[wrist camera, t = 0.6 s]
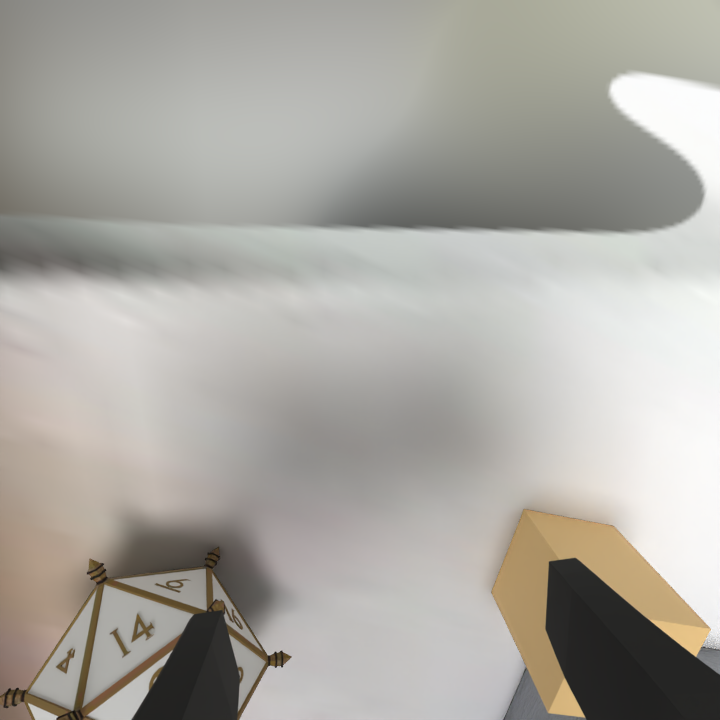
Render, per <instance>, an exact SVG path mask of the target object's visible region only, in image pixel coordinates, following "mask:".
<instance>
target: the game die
mask: <svg viewBox="0 0 720 720" xmlns="http://www.w3.org/2000/svg"><path fill="white" fill-rule="evenodd" d="M219 559H220V556H219V547H218V548H216V549H215V550H213V551H212V552H210V553H208V557H207V558H205V560H206V564H205V566H204V567H196V568H187V569H179V570H171V571H162V572H154V573H146V574H138V575H129V576H121V577H113V578H107V577H106V573H105V571H107V570H106V569H104V567H103V565H104V563H99V562H96V561H94V560H92V559H90V560H89V570H88V572H87V575H88V574H89V575H90V576H91V578H90V579H91V580H94V581H95V582H96V583H97V585H96V587H95V588H94V590H93V591H92V593H91V594H90V596H89V597H88V599H87V600H86V602H85V603H84V605H83V606H82V608H81V609H80V611H79V612H78V614H77V615H76V617H75V618H74V620H73V621H72V623H71V624H70V626H69V627H68V629H67V630H66V632H65V633H64V635H63V636H62V638H61V639H60V641H59V642H58V644H57V645H56V647H55V648H54V650H53V651H52V653H51V654H50V656H49V657H48V659H47V660H46V662H45V663H44V665H43V666H42V668H41V669H40V671H39V672H38V674H37V675H36V677H35V678H34V680H33V681H32V683H31V685H30V686H29V688H28V689H27V690H24V691H23V690H19V688H16V690H11V688H10V689H8V691H7V692H6V693H4V694H3V695H1V696H0V704H1V705H3V706H4V708H8V707H9V706H17V704H19V703H21V702H25V705H26V707H27V709H28V711H29V714H30V716H31V718H32V720H132V718H133V716H134V715H135V713H136V711H137V710H138V708H139V707H140V705H141V703H142V702H143V700H144V698H145V697H146V695H147V693H148V692H149V690H150V688H151V687H152V685H153V684H154V682H155V680H156V679H157V677H158V675H159V673H160V672H161V670H162V668H163V666H164V665H165V663H166V661H167V659H168V658H169V656H170V654H171V652H172V651H173V649H174V647H175V645H176V643H177V642H178V640H179V638H180V636H181V634H182V632H183V631H184V629H185V627H186V625H187V623H188V621H189V619H190V618H191V617H192V616H193V615H194V614H199V613H205V612H212V611H219V610H223V614H224V618H225V621H226V625H227V629H228V633H229V637H230V640H231V644H232V648H233V652H234V656H235V659H236V663H237V667H238V671H239V674H240V686H239V703H238V717H237V720H239V719H240V717H241V715H242V713H243V711H244V709H245V708H246V706H247V704H248V702H249V700H250V698H251V697H252V695H253V693H254V691H255V689H256V687H257V685H258V684H259V682H260V680H261V678H262V676H263V674H264V673H265V671H266V669H267V667H268V666H270V665H271V666H275V668H277V666H281V667H283V665H284V664H285V663H286V662H287V661H288V660H289V659H290V658H291V656H289V655H287V654H285V653H283V652H282V651H280V652H279V653H276V652H275V653H274V654H272V655H270V656H268V655H267V653H266V652H265V650H264V649H263V647H262V646H261V644H260V643H259V641H258V640H257V638H256V636H255V635H254V633H253V632H252V630H251V629H250V627H249V626H248V624H247V623H246V621H245V619H244V618H243V616H242V615H241V613H240V612H239V610H238V609H237V607H236V606H235V604H234V602H233V601H232V599H231V598H230V596H229V595H228V593H227V592H226V590H225V589H224V587H223V585H222V584H221V582H220V581H219V579H218V578H217V576H216V575H215V573H214V571H213V570H212V568H213V567H214V566H215V565H217V561H218V560H219Z"/></svg>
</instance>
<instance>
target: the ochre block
mask: <svg viewBox="0 0 720 720" xmlns="http://www.w3.org/2000/svg"><path fill="white" fill-rule="evenodd" d="M569 558H577V559H578V560H579V561H581V562H582V563H583V564H584V565H585V566H586V567H588V568H589V569H590V570H591V571H592V572H593V573H595V574H596V575H597V576H598V577H599V578H600V579H601V580H603V581H604V582H605V583H606V584H607V585H608V586H610V587H611V588H612V589H613V590H614V591H615V592H617V593H618V594H619V595H620V596H621V597H622V598H624V599H625V600H626V601H627V602H628V603H629V604H631V605H632V606H633V607H634V608H635V609H637V610H638V611H639V612H640V613H641V614H643V615H644V616H645V617H646V618H647V619H649V620H650V621H651V622H652V623H654V624H655V625H656V626H657V627H659V628H660V629H661V630H662V631H664V632H665V633H666V634H667V635H669V636H670V637H671V638H672V639H674V640H675V641H676V642H677V643H679V644H680V645H681V646H682V647H684V648H685V649H686V650H688V651H689V652H690V653H691V654H693V655H694V656H695V657H696V656H697V654H698V652H699V650H700V649H701V647H702V645H703V643H704V641H705V639H706V637H707V636H708V634H709V632H710V630H711V629H710V627H709V626H708V625H707V624H706V623H705V622H704V621H703V620H702V619H701V618H700V617H699V616H698V615H697V614H696V613H695V612H694V611H693V610H692V608H691V607H690V606H689V605H688V604H687V603H686V602H685V601H684V600H683V599H682V598H681V597H680V596H679V595H678V594H677V593H676V592H675V590H674V589H673V588H672V587H671V586H670V585H669V584H668V583H667V582H666V581H665V580H664V579H663V578H662V577H661V576H660V575H659V574H658V573H657V571H656V570H655V569H654V568H653V567H652V566H651V565H650V564H649V563H648V562H647V561H646V560H645V559H644V558H643V557H642V556H641V555H640V553H639V552H638V551H637V550H636V549H635V548H634V547H633V546H632V545H631V544H630V543H629V542H628V541H627V540H626V539H625V538H624V537H623V535H622V534H621V533H620V532H619V531H618V530H617V529H616V528H615V527H614V526H610V525H605V524H600V523H595V522H589V521H584V520H579V519H573V518H568V517H563V516H558V515H552V514H547V513H542V512H536V511H531V510H526V509H524V510H523V513H522V515H521V518H520V520H519V523H518V525H517V528H516V530H515V533H514V536H513V538H512V541H511V543H510V546H509V548H508V551H507V553H506V556H505V559H504V561H503V564H502V566H501V569H500V571H499V574H498V576H497V579H496V581H495V584H494V587H493V589H492V594H493V597H494V599H495V601H496V603H497V605H498V607H499V609H500V611H501V614H502V616H503V618H504V620H505V622H506V624H507V626H508V629H509V631H510V633H511V635H512V637H513V639H514V641H515V644H516V646H517V648H518V650H519V652H520V654H521V656H522V658H523V661H524V663H525V665H526V667H527V669H528V671H529V673H530V676H531V678H532V680H533V682H534V684H535V686H536V688H537V691H538V693H539V695H540V697H541V699H542V701H543V703H544V705H545V708H546V710H547V712H548V713H551V714H560V715H568V716H576V717H584V718H585V716H584V714H583V712H582V710H581V708H580V706H579V704H578V702H577V701H576V699H575V697H574V695H573V693H572V691H571V689H570V687H569V685H568V683H567V681H566V679H565V677H564V675H563V672H562V670H561V667H560V665H559V663H558V660H557V658H556V655H555V653H554V650H553V648H552V645H551V642H550V640H549V637H548V635H547V632H546V630H545V625H546V606H547V587H548V569H549V561H555V560H562V559H569Z"/></svg>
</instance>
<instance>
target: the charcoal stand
mask: <svg viewBox="0 0 720 720" xmlns="http://www.w3.org/2000/svg"><path fill="white" fill-rule="evenodd" d="M696 657H697V658H698V659H699V660H701V661H702V662H703V663H705V664H706V665H708V666H709V667H710V668H712V669H713V670H714V671H716V672H717V673H718V674H720V650H715V649H709V648H702V647H701V649H700V650H699V652H698V654H697V656H696ZM504 720H586V718H584V717H576V716H568V715H560V714H551V713H548V712H547V710H546V708H545V705H544V703H543V701H542V699H541V697H540V695H539V693H538V691H537V688H536V686H535V684H534V682H533V680H532V678H531V676H530V673H529V671H528V669H527V668H526V670H525V673H524V675H523V677H522V680H521V682H520V684H519V686H518V689H517V691H516V693H515V696H514V698H513V700H512V703H511V705H510V707H509V709H508V712H507V714H506V716H505V719H504Z"/></svg>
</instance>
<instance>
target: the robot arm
mask: <svg viewBox="0 0 720 720" xmlns="http://www.w3.org/2000/svg"><path fill="white" fill-rule="evenodd" d="M545 630H546V632H547V635H548V637H549V640H550V642H551V645H552V648H553V650H554V653H555V655H556V658H557V660H558V663H559V665H560V667H561V670H562V672H563V675H564V677H565V679H566V681H567V683H568V685H569V687H570V689H571V691H572V693H573V695H574V697H575V699H576V701H577V702H578V704H579V706H580V708H581V710H582V712H583V714H584V716H585V718H586V720H720V674H718V673H717V672H716V671H714V670H713V669H712V668H710V667H709V666H708V665H706V664H705V663H703V662H702V661H701V660H699V659H698V658H697V657H695V656H694V655H693V654H691V653H690V652H689V651H688V650H686V649H685V648H684V647H682V646H681V645H680V644H679V643H677V642H676V641H675V640H674V639H672V638H671V637H670V636H669V635H667V634H666V633H665V632H664V631H662V630H661V629H660V628H659V627H657V626H656V625H655V624H654V623H652V622H651V621H650V620H649V619H647V618H646V617H645V616H644V615H643V614H641V613H640V612H639V611H638V610H637V609H635V608H634V607H633V606H632V605H631V604H629V603H628V602H627V601H626V600H625V599H624V598H622V597H621V596H620V595H619V594H618V593H617V592H615V591H614V590H613V589H612V588H611V587H610V586H608V585H607V584H606V583H605V582H604V581H603V580H601V579H600V578H599V577H598V576H597V575H596V574H595V573H593V572H592V571H591V570H590V569H589V568H588V567H586V566H585V565H584V564H583V563H582V562H581V561H579V560H578V559H577V558H569V559H562V560H555V561H549V569H548V587H547V606H546V625H545ZM239 686H240V674H239V671H238V667H237V663H236V659H235V656H234V652H233V648H232V644H231V640H230V637H229V633H228V629H227V625H226V621H225V618H224V614H223V610H219V611H212V612H205V613H199V614H194V615H193V616H192V617H191V618H190V619H189V621H188V623H187V625H186V627H185V629H184V631H183V632H182V634H181V636H180V638H179V640H178V642H177V643H176V645H175V647H174V649H173V651H172V652H171V654H170V656H169V658H168V659H167V661H166V663H165V665H164V666H163V668H162V670H161V672H160V673H159V675H158V677H157V679H156V680H155V682H154V684H153V685H152V687H151V688H150V690H149V692H148V693H147V695H146V697H145V698H144V700H143V702H142V703H141V705H140V707H139V708H138V710H137V711H136V713H135V715H134V716H133V718H132V720H237V717H238V703H239Z"/></svg>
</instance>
